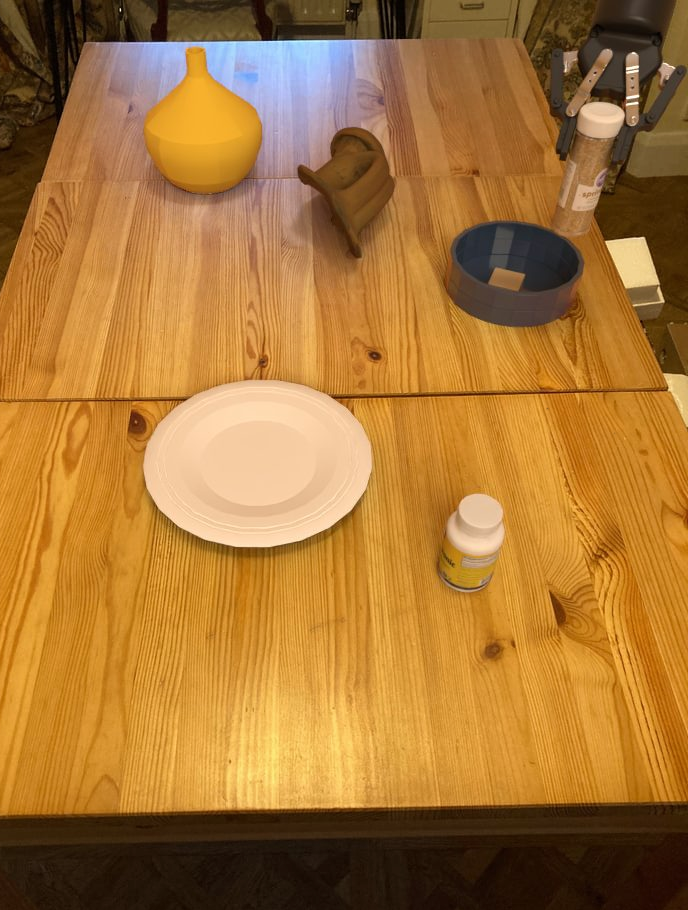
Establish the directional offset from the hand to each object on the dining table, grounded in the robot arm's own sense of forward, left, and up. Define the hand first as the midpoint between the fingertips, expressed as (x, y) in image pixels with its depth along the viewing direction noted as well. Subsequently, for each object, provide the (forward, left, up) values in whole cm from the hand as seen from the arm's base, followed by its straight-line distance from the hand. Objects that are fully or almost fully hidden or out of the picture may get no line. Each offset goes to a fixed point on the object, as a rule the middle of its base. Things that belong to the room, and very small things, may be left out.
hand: (588, 162), depth 81 cm
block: (+4, -7, -23) cm, 24 cm away
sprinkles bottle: (-1, -2, -9) cm, 10 cm away
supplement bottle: (+14, +36, -24) cm, 45 cm away
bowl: (+2, -11, -24) cm, 26 cm away
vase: (+46, -41, -24) cm, 66 cm away
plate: (+35, +22, -24) cm, 48 cm away
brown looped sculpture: (+24, -28, -24) cm, 44 cm away
